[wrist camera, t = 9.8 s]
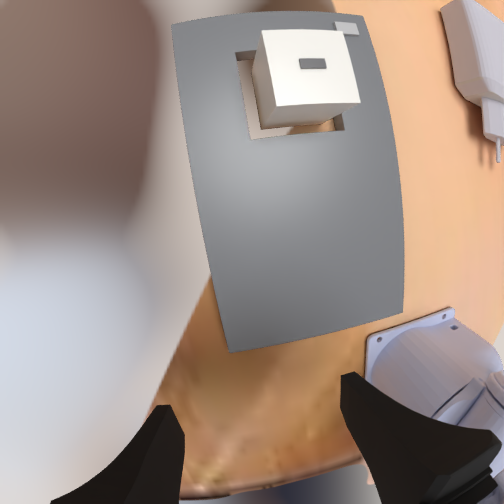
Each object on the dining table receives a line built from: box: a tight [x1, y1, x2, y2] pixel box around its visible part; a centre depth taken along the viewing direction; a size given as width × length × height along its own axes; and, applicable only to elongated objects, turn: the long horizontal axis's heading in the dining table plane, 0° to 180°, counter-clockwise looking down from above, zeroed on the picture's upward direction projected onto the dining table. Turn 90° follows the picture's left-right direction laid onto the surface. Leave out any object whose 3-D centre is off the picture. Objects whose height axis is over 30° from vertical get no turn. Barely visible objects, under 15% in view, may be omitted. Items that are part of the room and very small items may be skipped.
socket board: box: [171, 11, 404, 353], centre depth 17 cm, size 13×22×2 cm, turn 9°
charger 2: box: [440, 0, 504, 163], centre depth 15 cm, size 5×9×15 cm
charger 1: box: [251, 29, 361, 130], centre depth 14 cm, size 4×4×6 cm
